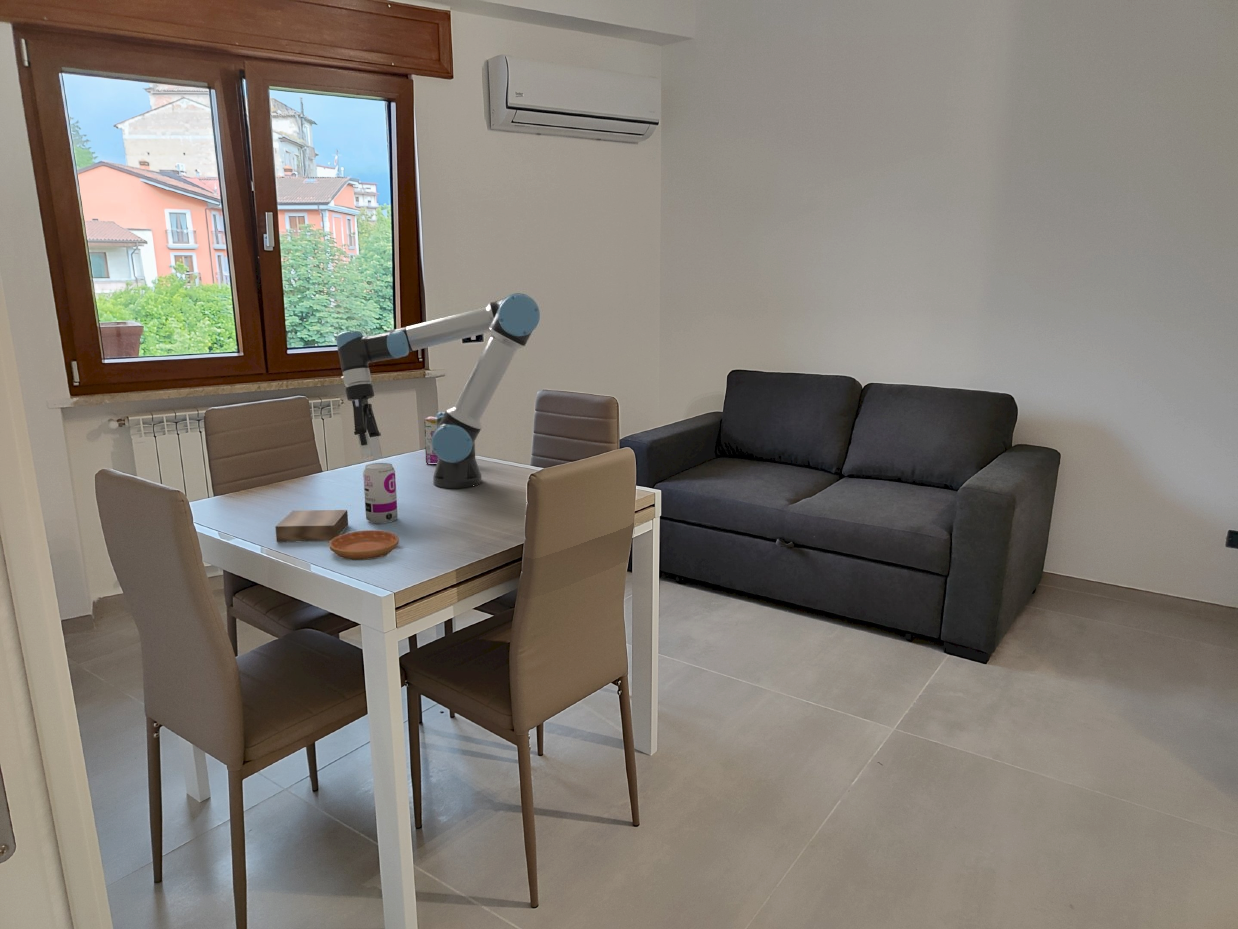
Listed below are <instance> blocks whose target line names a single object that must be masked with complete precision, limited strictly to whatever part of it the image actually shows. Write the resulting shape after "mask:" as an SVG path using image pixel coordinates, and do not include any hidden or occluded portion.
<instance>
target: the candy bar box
mask: <svg viewBox="0 0 1238 929" xmlns="http://www.w3.org/2000/svg"><path fill="white" fill-rule="evenodd" d="M436 417H437V416H426V417H425V418H424V423H423V424H424V443H425V444H424V446H425V447H424V450H425V464H426V463H437V462H438V456H437V455H436V454H435V453H434V451H433V448H432V443H431V440H432V435H433V433H434V432H435V431H436V429H437V422H436Z"/></svg>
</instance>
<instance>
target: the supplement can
mask: <svg viewBox="0 0 1238 929" xmlns="http://www.w3.org/2000/svg"><path fill="white" fill-rule="evenodd" d="M362 472H363V473H362V477H363V491H364V493H363V494H364V507H365V520H367V521H368V522H369V523H372V524H387V523H391V522H395V520H396V519H397V518H398V497H397V496H398V495H397V484H396V483H397V482H396V470H395V468H394V466H393V464H392V463H389V462H375V463H373V462H372V463H369V464H366V465H365V466H364V469H363V471H362Z"/></svg>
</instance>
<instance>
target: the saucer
mask: <svg viewBox="0 0 1238 929" xmlns="http://www.w3.org/2000/svg"><path fill="white" fill-rule="evenodd" d="M399 541H400V538H399V536H398V535H397V534H395V533H394V532H390V531H385V530H378V529H377V530H373V529H371V530H370V529H369V530H368V529H366V530H358V531H357V530H356V531H351V532H347V533H343V534H342V533H341V534H340V535H339V536H337V537H335V538H333V539H332V540H331V541H328V542H329V544H328V546H329V550H330V551H331V552H333V553H334V554H335V555H337V556H338V557H340V558H342V559H345V560H351V559H352V560H353V561H354V560H355V561H356V560H357V561H360V560H363V561H365V560H371V559H377V558H381V557H384V556H386V555H389V554H390V553H392V552H393V550H395V549H396V547H398V546H399V543H400V542H399Z"/></svg>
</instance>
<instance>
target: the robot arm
mask: <svg viewBox="0 0 1238 929" xmlns="http://www.w3.org/2000/svg"><path fill="white" fill-rule="evenodd" d="M540 312H541V311H540V309H539V306H538V304H537V302H536V301H535V300H534V299H533V298H532V297H531V296H529V295H527V294H525V293H519V292H518V293H512V294H509V295H508V296H506V297H504V298H501V299H499V300H495V301H492V302H489V303H488V304H487V306H486V307H481V308H477V309H474V310H473V309H472V310H469V311H465V312H460V313H457V314H453V315H449V316H445V317H441V318H436V319H432V320H427V321H424V322H421V323H420V322H419V323H416V324H412V325H408V326H404V327H400V328H394V329H389V330H386V331H385V332H383V333H379V334H374V335H370V336H369V335H367V336H364V335H363V333H362V331H359V330H348V331H343V332H341V333H338V334H337V336H336V346H337V352H338V353H337V355H338V357H339V363H340V367H341V372H342V376H341V380H342V381H343V384H344V386H345V387H346V388H345V395H346V398H347V400H348V402H351V404H352V409H353V423H354V431H353V432H354V433H353V434H354V435H355V436H357V438H358V444H359V448H360V453H361V454H360V455H361V458H362V459H364V458H369V457H372V460H377V459H383V453H382V447H381V442H380V439H379V437H380V436H381V437H382V433H381V432H380V430H379V428H378V424H377V422H376V417H375V415H374V410H373V407H372V406H373V405H372V403H369V399H372V398H374V396H375V392H374V388H373V387H374V386H373V385H372V376H371V371H370V366H369V363H376V362H379V361H380V362H381V361H386V360H392V359H400V358H402V357H406V356H407V357H408V355H409V353H411V352H413V351H417V350H421V349H426V348H430V347H435V346H438V345H442V344H446V343H451V342H454V341H459V340H463V339H467V338H472V337H475V336H479V335H484V334H488V333H490V336H489V338H488V340H487V342H486V343H485V346H484V348H483V349H482V352H481V353H480V356H479V357H478V360H477V361H476V364H475V365H474V367H473V369H472V372H471V373H470V375H469V377H468V378H467V381H466V383H465V385H464V387H463V388H462V391H461V392H460V394H459V396H458V398H457V400H456V402H455V403H454V406H452V407H450V408H447V409H445V411H439V412H438V413H436V416H435V417H436V422H437V429H436V431H435V432H434V433H433V435H432V440H431V443H432V448H433V451H434V453H435V454H436V455H437V456H438V462H437V465H435V470H434V472H433V473H434V474H433V477H432V478H433V480H432V482H433V485H434V486H436V487H439V488H445V489H464V488H470V487H469V486H472V487H474V486H473V485H476V486H478V485H480V484H481V483H482V482H481V481H482V480H483V478H482V473H481V470H480V468H479V465H478V464H479V463H478V462H477V458H476V440H477V438H478V435H479V433H480V432H481V430H482V427H483V426H482V423H481V419H482V417H483V415H484V413H485V412H486V410H487V408H488V406H489V404H490V402H491V400H492V398H493V396H494V394H495V392H496V391H497V389H498V386H499V385H500V383H501V381H502V379H503V377H504V375H505V373H506V372H507V369H508V368H509V365H510V364H511V361H512V360H513V358H514V356H515V354H516V352H517V351H518V350H519V349H522V348H525V347H526V345H527V343H528V341H529V340H530V337H531V335H532V333H533V332H534V330H536V328H537V326H538V324H539V322H540V315H541V313H540ZM480 482H481V483H480ZM479 483H480V484H479ZM477 484H478V485H477Z"/></svg>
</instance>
